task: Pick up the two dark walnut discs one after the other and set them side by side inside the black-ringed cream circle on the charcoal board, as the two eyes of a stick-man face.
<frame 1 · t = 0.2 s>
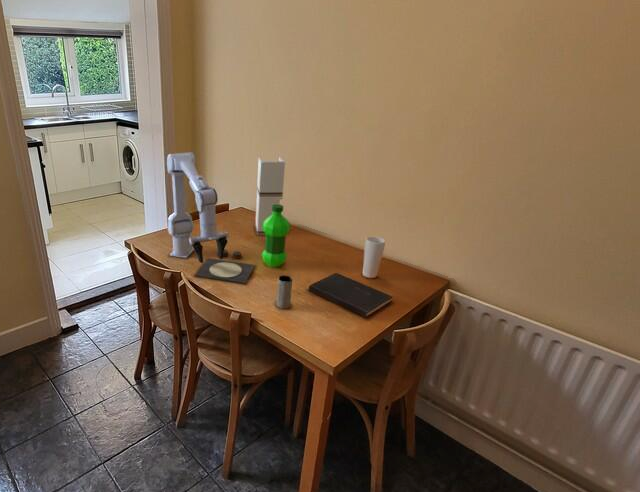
hand: (210, 260, 148), 10 cm above the table, tool pointing down, fingers open, 7 cm apart
eye left: (223, 255, 176), on the table
white rectangular tower: (267, 231, 202), on the table
hardcover book: (348, 296, 145), on the table
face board: (225, 271, 163), on the table
eye right: (237, 257, 174), on the table
drinking glass: (369, 275, 159), on the table
grey metal cylinder: (283, 305, 140), on the table
plastic bottle: (273, 264, 168), on the table
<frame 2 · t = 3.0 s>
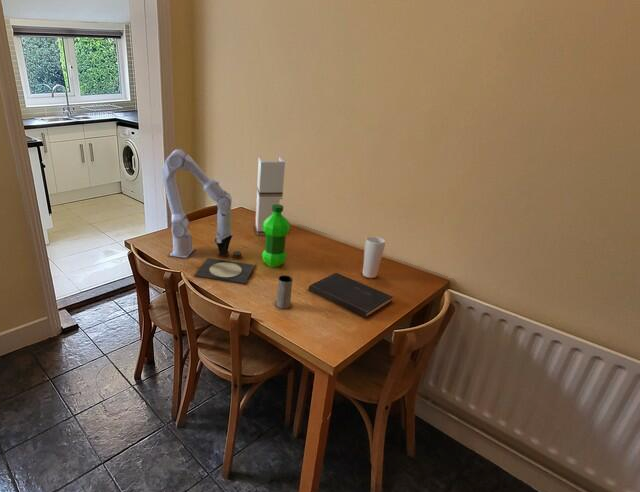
hand: (223, 252, 176), 1 cm above the table, tool pointing down, fingers closed on eye left, 3 cm apart
eye left: (223, 255, 176), on the table, touching gripper
everything else where it was.
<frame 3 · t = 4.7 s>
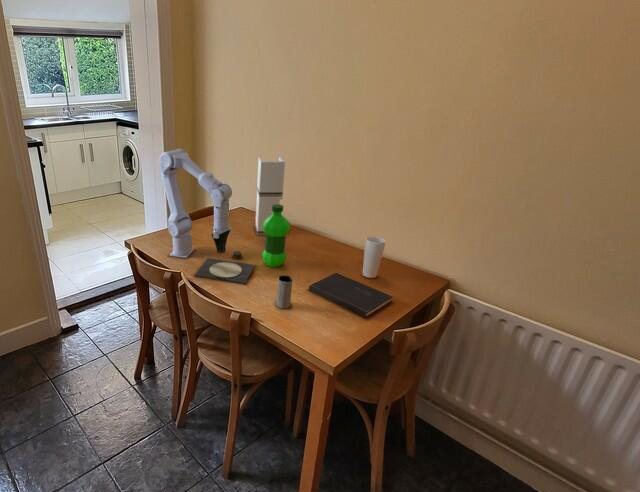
hand: (221, 248, 164), 8 cm above the table, tool pointing down, fingers closed on eye left, 3 cm apart
eye left: (221, 251, 165), point 6 cm above the table, touching gripper
everything else where it was.
when the fingers open (2 cm above the table, at t = 6.7 s): eye left stays where it is, resting on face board.
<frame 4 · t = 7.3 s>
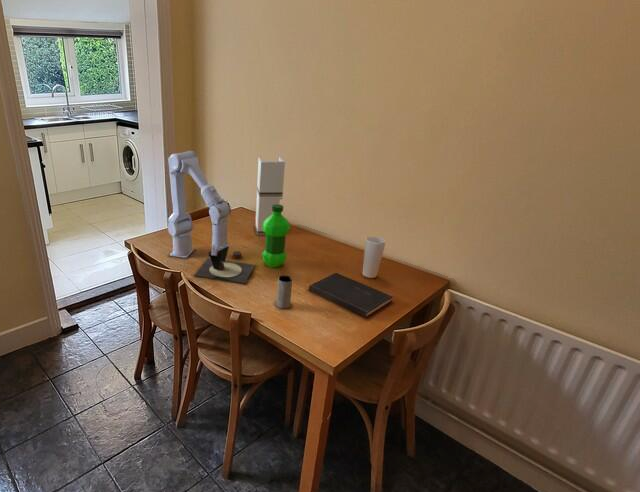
hand: (219, 264, 162), 2 cm above the table, tool pointing down, fingers open, 7 cm apart
eye left: (219, 268, 163), point 1 cm above the table, touching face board
everything else where it was.
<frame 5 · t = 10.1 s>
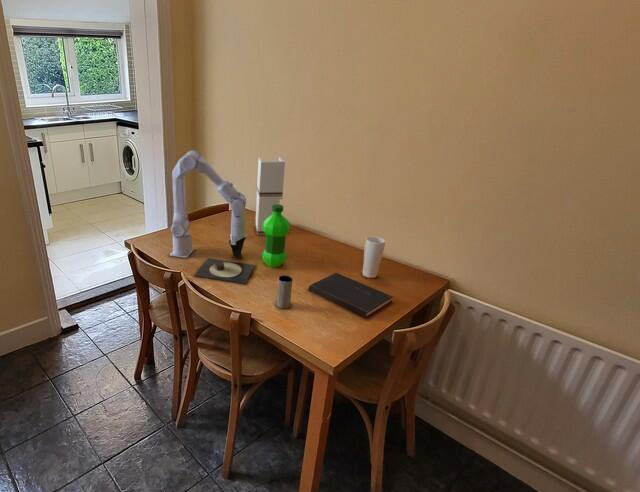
hand: (237, 254, 174), 1 cm above the table, tool pointing down, fingers closed on eye right, 3 cm apart
eye right: (237, 257, 174), on the table, touching gripper
everything else where it was.
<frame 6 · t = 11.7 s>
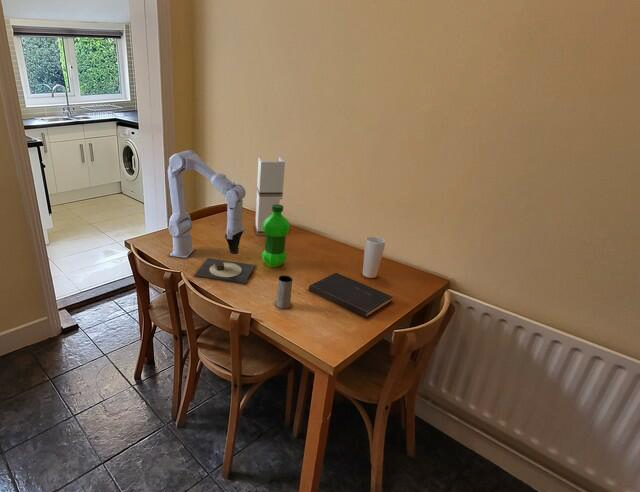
hand: (234, 249, 163), 8 cm above the table, tool pointing down, fingers closed on eye right, 3 cm apart
eye right: (234, 252, 163), point 6 cm above the table, touching gripper
everything else where it was.
when the fingers open (2 cm above the table, at t = 13.7 s): eye right stays where it is, resting on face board.
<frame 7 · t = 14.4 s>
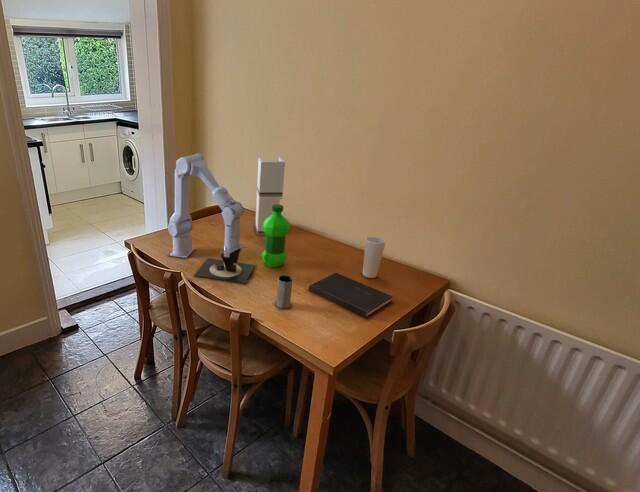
hand: (231, 266, 161), 2 cm above the table, tool pointing down, fingers open, 7 cm apart
eye right: (231, 270, 162), point 1 cm above the table, touching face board
everything else where it was.
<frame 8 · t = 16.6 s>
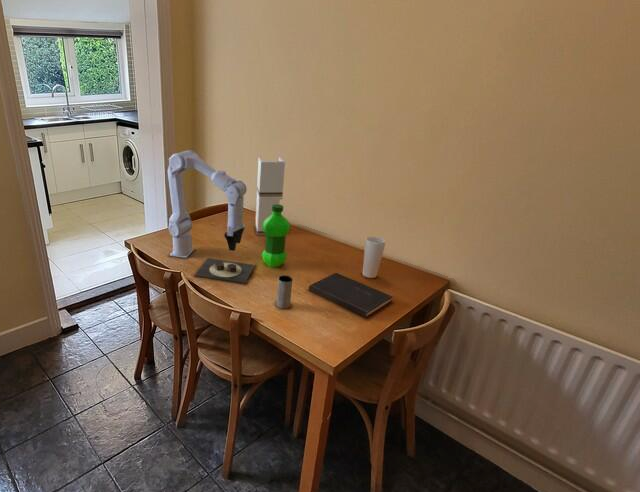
hand: (234, 246, 161), 9 cm above the table, tool pointing down, fingers open, 7 cm apart
nothing on the table moved.
at the end: eye left 0.4 cm from the target spot on the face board, point 0.7 cm above the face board's base; eye right 0.1 cm from the target spot on the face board, point 0.7 cm above the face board's base; eye right tilted 0° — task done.
